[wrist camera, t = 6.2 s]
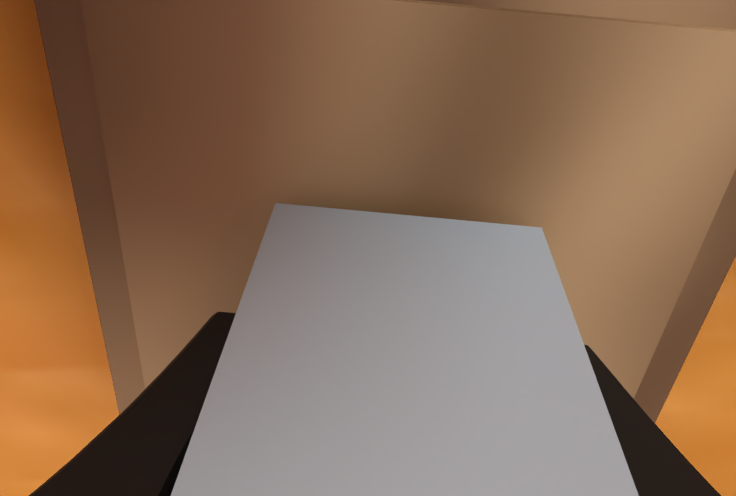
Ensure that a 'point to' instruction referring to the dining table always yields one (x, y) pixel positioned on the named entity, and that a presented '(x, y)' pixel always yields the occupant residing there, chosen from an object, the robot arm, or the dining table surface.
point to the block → (403, 368)
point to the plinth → (401, 150)
